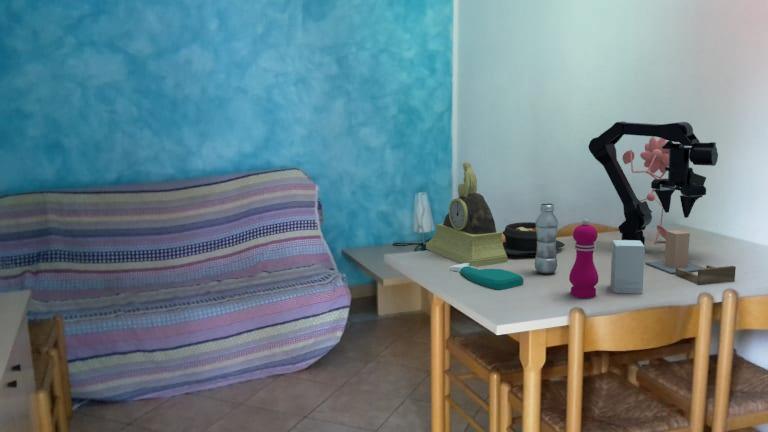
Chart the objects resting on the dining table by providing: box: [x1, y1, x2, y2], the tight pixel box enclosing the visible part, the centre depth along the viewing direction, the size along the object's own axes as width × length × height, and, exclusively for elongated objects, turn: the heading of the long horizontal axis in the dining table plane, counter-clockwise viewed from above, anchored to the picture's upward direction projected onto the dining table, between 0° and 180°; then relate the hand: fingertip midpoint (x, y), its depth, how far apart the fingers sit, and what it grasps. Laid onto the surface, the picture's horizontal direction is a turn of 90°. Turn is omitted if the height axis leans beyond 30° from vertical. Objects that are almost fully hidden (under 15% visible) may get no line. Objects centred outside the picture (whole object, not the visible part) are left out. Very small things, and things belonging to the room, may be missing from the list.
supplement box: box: [610, 239, 646, 295], centre depth 184 cm, size 7×7×13 cm
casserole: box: [502, 221, 566, 257], centre depth 227 cm, size 25×19×8 cm
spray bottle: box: [449, 263, 524, 291], centre depth 199 cm, size 3×11×24 cm
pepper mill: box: [568, 218, 599, 299], centre depth 179 cm, size 7×7×20 cm
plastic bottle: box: [533, 202, 559, 274], centre depth 201 cm, size 6×7×20 cm
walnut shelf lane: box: [675, 264, 737, 286], centre depth 193 cm, size 10×11×4 cm
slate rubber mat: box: [644, 260, 706, 275], centre depth 205 cm, size 12×12×1 cm
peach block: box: [663, 229, 691, 268], centre depth 204 cm, size 4×4×10 cm
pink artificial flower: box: [622, 136, 669, 244], centre depth 239 cm, size 15×26×35 cm, turn 36°
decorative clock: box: [425, 161, 509, 268], centre depth 222 cm, size 28×13×30 cm, turn 26°
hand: (676, 214), depth 215 cm, fingers open, 9 cm apart
